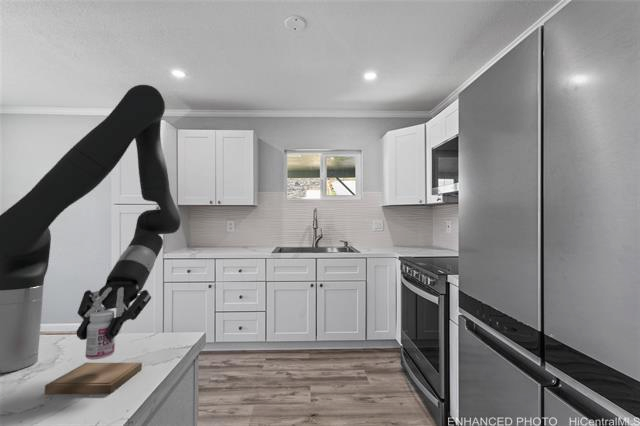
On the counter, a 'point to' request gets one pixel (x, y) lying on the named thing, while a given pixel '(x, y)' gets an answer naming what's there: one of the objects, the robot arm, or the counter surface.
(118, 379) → the walnut tray
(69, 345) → the counter surface
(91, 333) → the pill bottle
